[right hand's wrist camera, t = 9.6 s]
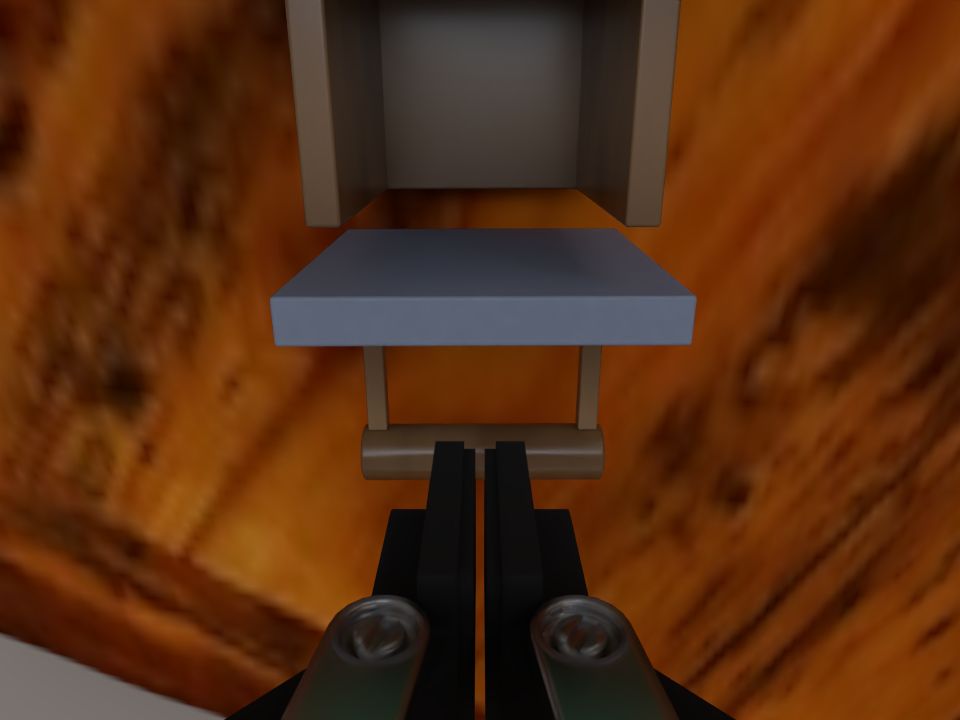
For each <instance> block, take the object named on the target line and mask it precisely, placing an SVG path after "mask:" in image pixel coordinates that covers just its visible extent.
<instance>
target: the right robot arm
mask: <svg viewBox="0 0 960 720" xmlns="http://www.w3.org/2000/svg"><path fill="white" fill-rule="evenodd" d="M475 609H476V476H475V449H464V441H436V442H435V448H434V455H433V462H432V470H431V477H430V484H429V492H428V499H427V506H426V509H392V510H391V513H390V516H389V521H388V525H387V530H386V534H385V539H384V543H383V547H382V552H381V556H380V561H379V565H378V570H377V574H376V579H375V583H374V587H373V592H372V596H371V597H366V598H362V599H360V600H357V601H355V602H353V603H351V604H348V605H347V606H346V607H344V608H343V609H342V610H341V611H339V612H338V613H337V614H336V615H335V617H334V618H333V619H332V621H331V622H330V623H329V625H328V627H327V629H326V631H325V633H324V635H323V637H322V639H321V641H320V643H319V645H318V647H317V649H316V651H315V653H314V655H313V657H312V659H311V661H310V663H309V665H308V667H307V668H306V669H305V670H303V671H301V672H300V673H298V674H297V675H295V676H293V677H292V678H290V679H289V680H287V681H285V682H284V683H282V684H281V685H279V686H277V687H276V688H274V689H273V690H271V691H269V692H268V693H266V694H265V695H263V696H261V697H260V698H258V699H257V700H255V701H253V702H252V703H250V704H249V705H247V706H246V707H244V708H242V709H241V710H239V711H238V712H236V713H234V714H233V715H231V716H230V717H228V718H226V719H225V720H474V718H475ZM484 609H485V719H486V720H735V719H734V718H732V717H730V716H729V715H727V714H726V713H724V712H722V711H721V710H719V709H718V708H716V707H714V706H713V705H711V704H710V703H708V702H707V701H705V700H703V699H702V698H700V697H699V696H697V695H695V694H694V693H692V692H691V691H689V690H687V689H686V688H684V687H683V686H681V685H679V684H678V683H676V682H675V681H673V680H671V679H670V678H668V677H667V676H665V675H663V674H662V673H660V672H659V671H657V670H655V669H654V668H653V667H652V665H651V663H650V661H649V659H648V657H647V655H646V653H645V651H644V649H643V647H642V645H641V643H640V641H639V639H638V637H637V635H636V633H635V631H634V629H633V627H632V625H631V623H630V622H629V621H628V619H627V618H626V617H625V615H624V614H623V613H622V612H621V611H619V610H618V609H617V608H616V607H614V606H613V605H612V604H609V603H607V602H605V601H603V600H600V599H598V598H594V597H589V596H588V592H587V587H586V583H585V579H584V574H583V570H582V565H581V561H580V556H579V552H578V547H577V543H576V539H575V534H574V530H573V525H572V521H571V516H570V513H569V510H568V509H534V506H533V499H532V492H531V484H530V477H529V470H528V463H527V455H526V448H525V442H524V441H496V449H485V475H484Z"/></svg>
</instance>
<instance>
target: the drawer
mask: <svg viewBox="0 0 960 720" xmlns="http://www.w3.org/2000/svg"><path fill="white" fill-rule="evenodd" d="M680 5H681V0H285V7H286V18H287V29H288V40H289V51H290V61H291V72H292V83H293V94H294V105H295V116H296V127H297V137H298V148H299V159H300V170H301V181H302V192H303V203H304V213H305V224H306V226H307V227H310V228H338V227H340V226H341V225H343V224H344V223H345V222H346V221H348V220H349V219H350V218H351V217H353V216H354V215H355V214H356V213H358V212H359V211H360V210H361V209H363V208H364V207H365V206H366V205H368V204H369V203H370V202H371V201H373V200H374V199H375V198H376V197H378V196H379V195H380V194H381V193H383V192H384V191H385V190H386V189H578V190H579V191H580V192H582V193H583V194H584V195H586V196H587V197H588V198H589V199H591V200H592V201H593V202H595V203H596V204H597V205H599V206H600V207H601V208H603V209H604V210H605V211H607V212H608V213H609V214H611V215H612V216H613V217H614V218H616V219H617V220H618V221H620V222H621V223H622V224H624V225H625V226H627V227H658V226H660V224H661V215H662V204H663V193H664V182H665V171H666V160H667V149H668V137H669V126H670V115H671V104H672V93H673V82H674V71H675V60H676V49H677V38H678V27H679V16H680ZM270 306H271V315H272V324H273V332H274V341H275V345H276V346H363V352H364V367H365V382H366V397H367V412H368V424H367V425H365V427H364V430H363V434H362V442H361V467H362V473H363V477H364V479H366V480H430V477H431V470H432V462H433V455H434V448H435V442H436V441H464V449H475V476H476V480H484V475H485V449H496V441H524V442H525V448H526V455H527V463H528V470H529V477H530V480H555V479H600V478H601V477H602V474H603V470H604V439H603V433H602V429H601V427H600V425H599V424H597V413H598V398H599V382H600V366H601V351H602V345H690V344H691V342H692V335H693V326H694V317H695V308H696V296H695V295H694V294H692V293H691V292H690V291H689V290H688V289H686V288H685V287H684V286H683V285H682V284H681V283H679V282H678V281H677V280H676V279H675V278H673V277H672V276H671V275H670V274H669V273H667V272H666V271H665V270H664V269H663V268H661V267H660V266H659V265H658V264H657V263H655V262H654V261H653V260H652V259H651V258H650V257H648V256H647V255H646V254H645V253H644V252H642V251H641V250H640V249H639V248H638V247H636V246H635V245H634V244H633V243H632V242H630V241H629V240H628V239H627V238H626V237H624V236H623V235H622V234H621V233H620V232H619V231H617V230H616V229H349V230H347V231H346V232H345V233H344V234H343V235H341V236H340V237H339V238H338V239H337V240H336V241H335V242H333V243H332V244H331V245H330V246H329V247H328V248H326V249H325V250H324V251H323V252H322V253H321V254H320V255H318V256H317V257H316V258H315V259H314V260H313V261H312V262H310V263H309V264H308V265H307V266H306V267H305V268H304V269H302V270H301V271H300V272H299V273H298V274H297V275H296V276H294V277H293V278H292V279H291V280H290V281H289V282H288V283H286V284H285V285H284V286H283V287H282V288H281V289H280V290H278V291H277V292H276V293H275V294H274V295H273V296H272V297H271V298H270ZM385 346H579V364H578V383H577V402H576V423H533V424H389V422H390V421H389V403H388V385H387V366H386V348H385Z"/></svg>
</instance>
